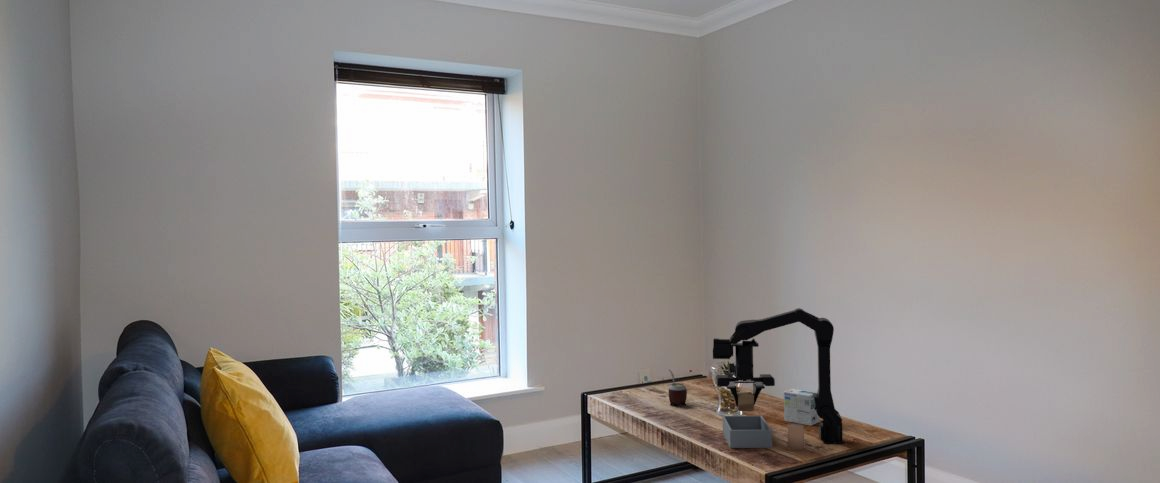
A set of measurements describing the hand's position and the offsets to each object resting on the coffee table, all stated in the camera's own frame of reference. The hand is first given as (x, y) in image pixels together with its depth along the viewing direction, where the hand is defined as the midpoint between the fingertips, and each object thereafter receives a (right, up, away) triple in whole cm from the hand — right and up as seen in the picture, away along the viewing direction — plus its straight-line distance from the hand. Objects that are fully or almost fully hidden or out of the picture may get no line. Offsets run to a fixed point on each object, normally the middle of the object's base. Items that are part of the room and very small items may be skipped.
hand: (745, 406), depth 252 cm
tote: (0, -11, -2) cm, 11 cm away
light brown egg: (+14, -11, -12) cm, 21 cm away
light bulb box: (+24, -10, +18) cm, 31 cm away
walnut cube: (0, -1, 0) cm, 1 cm away
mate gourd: (-17, -9, +44) cm, 48 cm away
